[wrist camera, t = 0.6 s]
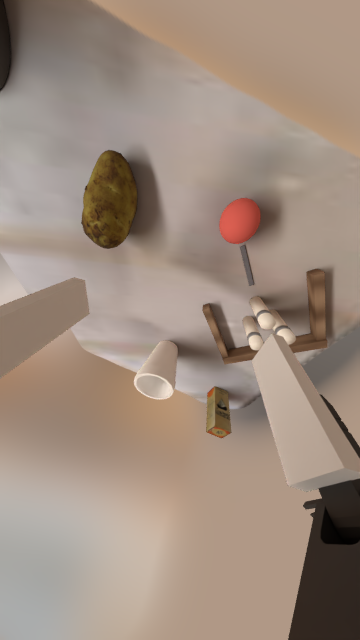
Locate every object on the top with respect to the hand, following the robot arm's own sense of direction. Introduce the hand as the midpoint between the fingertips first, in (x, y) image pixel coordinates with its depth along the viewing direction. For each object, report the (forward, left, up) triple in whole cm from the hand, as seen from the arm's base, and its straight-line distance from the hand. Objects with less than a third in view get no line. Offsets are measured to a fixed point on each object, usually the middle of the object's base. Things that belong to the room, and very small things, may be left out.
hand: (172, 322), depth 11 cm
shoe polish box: (+43, -10, -24) cm, 50 cm away
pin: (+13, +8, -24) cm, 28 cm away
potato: (-14, -10, -24) cm, 30 cm away
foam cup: (+20, -18, -24) cm, 36 cm away
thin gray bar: (+5, +8, -24) cm, 26 cm away
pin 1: (+17, +6, -24) cm, 30 cm away
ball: (-3, +8, -21) cm, 23 cm away
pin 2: (+17, +11, -24) cm, 31 cm away
